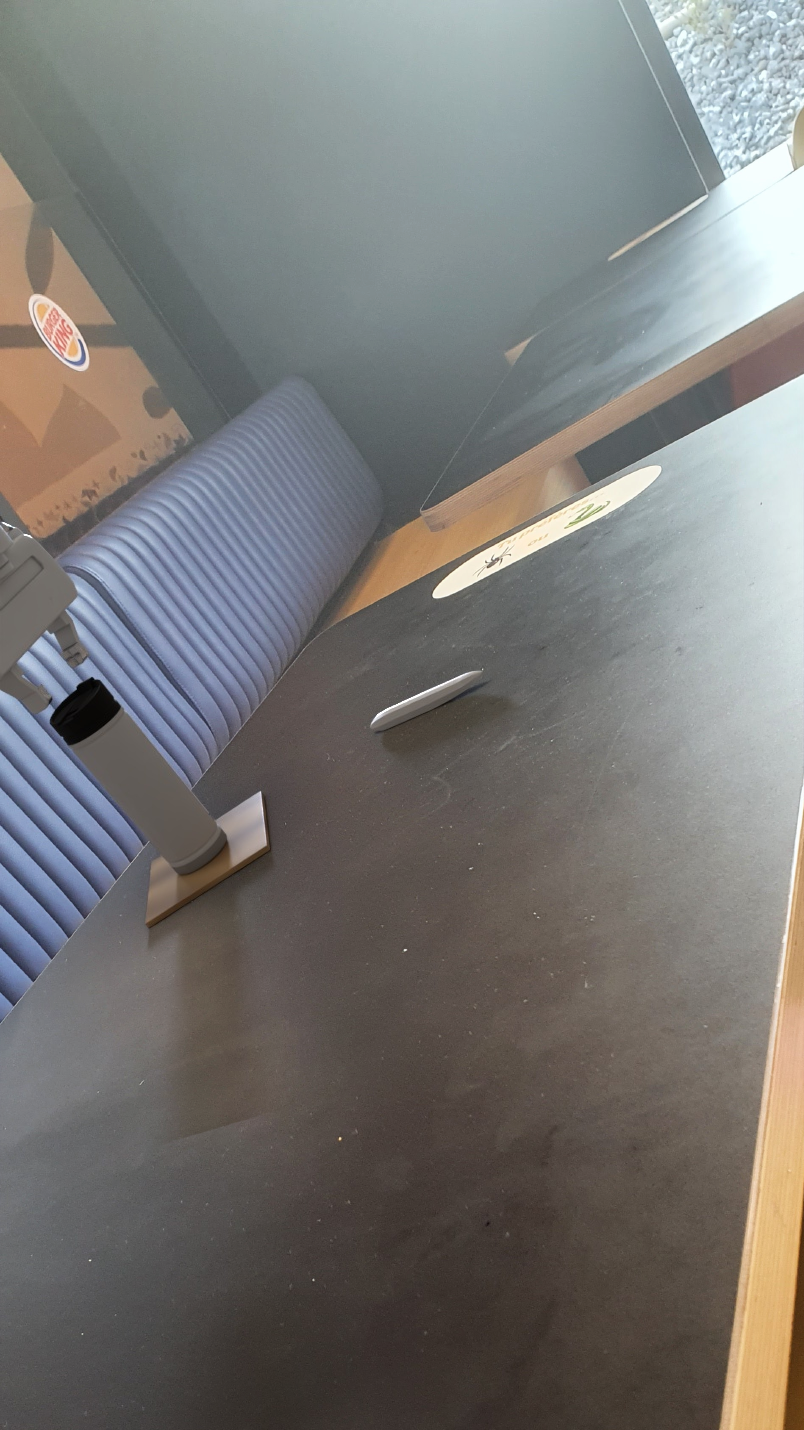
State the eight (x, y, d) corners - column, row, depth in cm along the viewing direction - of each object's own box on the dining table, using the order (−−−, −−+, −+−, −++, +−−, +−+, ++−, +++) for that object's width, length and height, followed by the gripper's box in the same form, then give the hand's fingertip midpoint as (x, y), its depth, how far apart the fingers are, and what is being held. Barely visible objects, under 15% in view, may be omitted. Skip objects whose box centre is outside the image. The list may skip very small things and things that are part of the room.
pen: (488, 685, 113) (479, 671, 112) (371, 736, 118) (363, 724, 118) (490, 677, 114) (482, 664, 113) (375, 728, 120) (366, 716, 119)
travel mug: (237, 824, 117) (110, 665, 108) (215, 863, 112) (80, 700, 103) (191, 844, 120) (63, 691, 111) (168, 883, 115) (32, 726, 106)
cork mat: (154, 865, 123) (151, 861, 122) (264, 794, 122) (260, 790, 122) (148, 928, 110) (144, 924, 110) (270, 849, 109) (266, 845, 109)
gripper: (-18, 532, 109) (77, 651, 115) (-126, 617, 92) (-7, 751, 99) (31, 500, 107) (125, 624, 113) (-69, 581, 90) (48, 721, 97)
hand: (63, 684), depth 106 cm, fingers open, 8 cm apart
